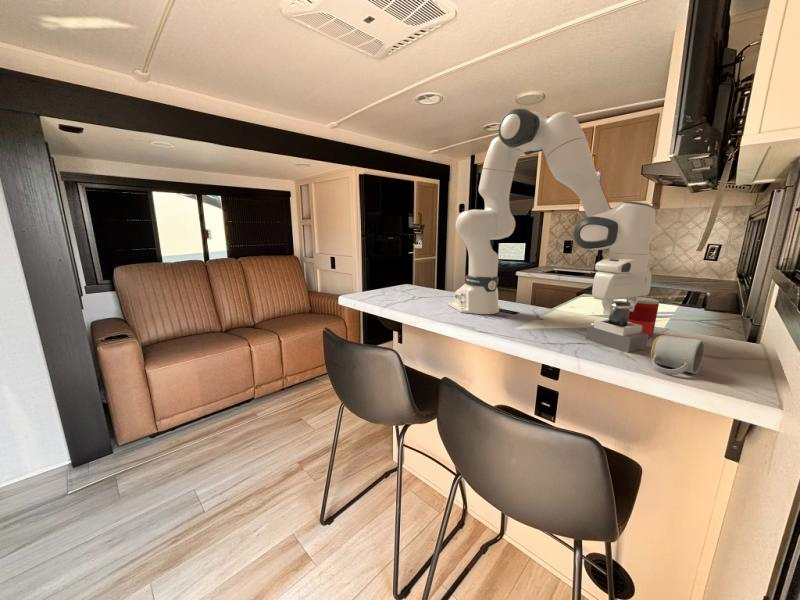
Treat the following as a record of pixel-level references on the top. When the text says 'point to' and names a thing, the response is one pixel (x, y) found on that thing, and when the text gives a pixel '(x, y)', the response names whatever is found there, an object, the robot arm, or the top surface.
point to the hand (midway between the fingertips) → (618, 313)
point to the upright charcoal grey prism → (620, 313)
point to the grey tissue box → (617, 335)
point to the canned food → (645, 314)
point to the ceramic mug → (677, 354)
